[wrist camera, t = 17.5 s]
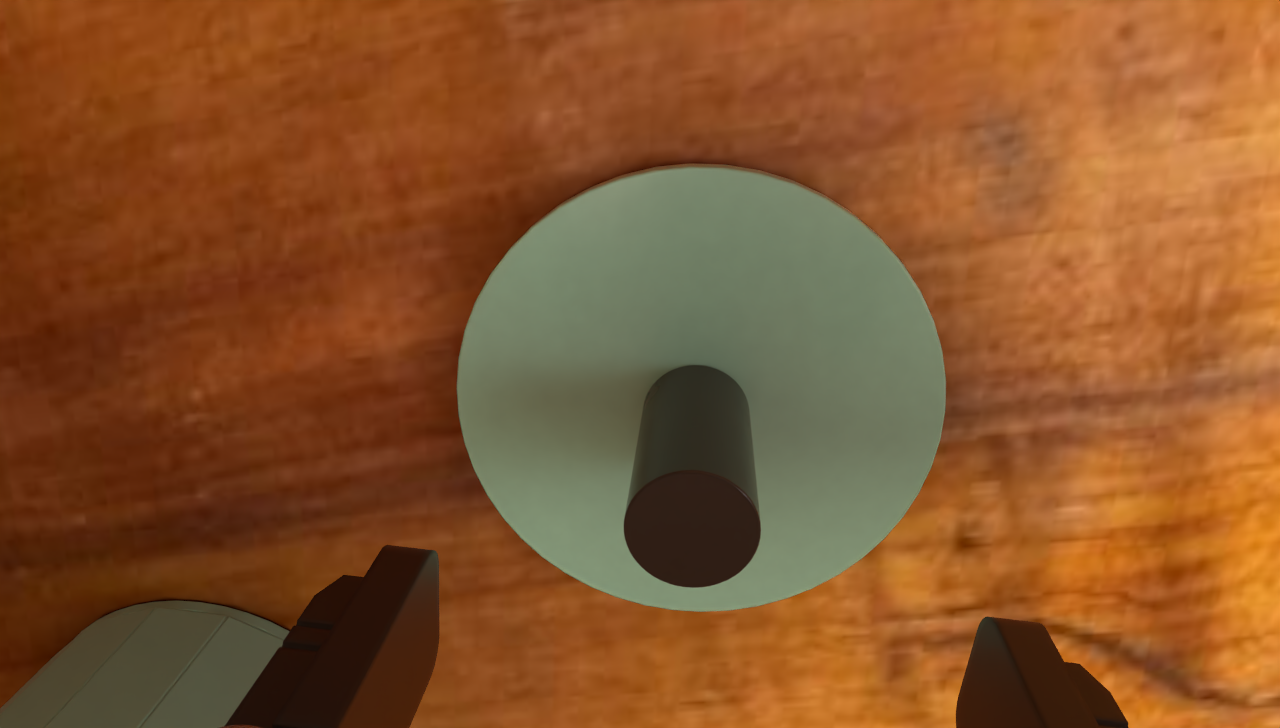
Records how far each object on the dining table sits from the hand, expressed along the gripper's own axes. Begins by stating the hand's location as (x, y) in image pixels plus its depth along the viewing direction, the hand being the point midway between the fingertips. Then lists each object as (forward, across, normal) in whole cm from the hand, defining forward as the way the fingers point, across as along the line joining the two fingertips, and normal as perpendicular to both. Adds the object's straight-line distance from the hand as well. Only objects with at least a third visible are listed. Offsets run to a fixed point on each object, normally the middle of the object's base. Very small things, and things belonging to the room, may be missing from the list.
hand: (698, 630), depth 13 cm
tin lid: (+8, 0, 0) cm, 8 cm away
